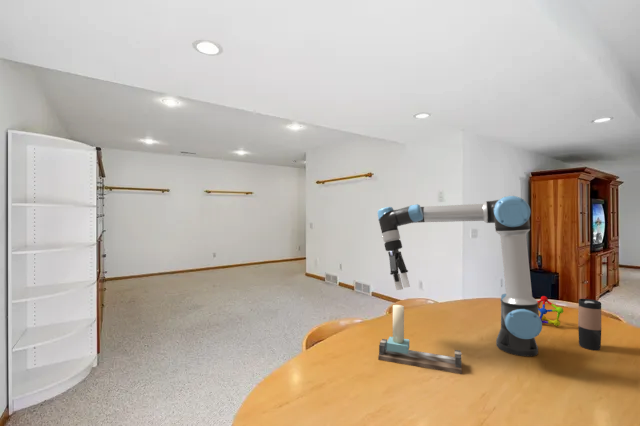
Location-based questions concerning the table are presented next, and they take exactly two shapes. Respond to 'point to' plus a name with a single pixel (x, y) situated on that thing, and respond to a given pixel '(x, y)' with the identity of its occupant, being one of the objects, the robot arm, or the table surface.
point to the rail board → (422, 359)
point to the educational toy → (544, 311)
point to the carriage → (398, 332)
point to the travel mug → (589, 324)
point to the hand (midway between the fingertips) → (403, 288)
